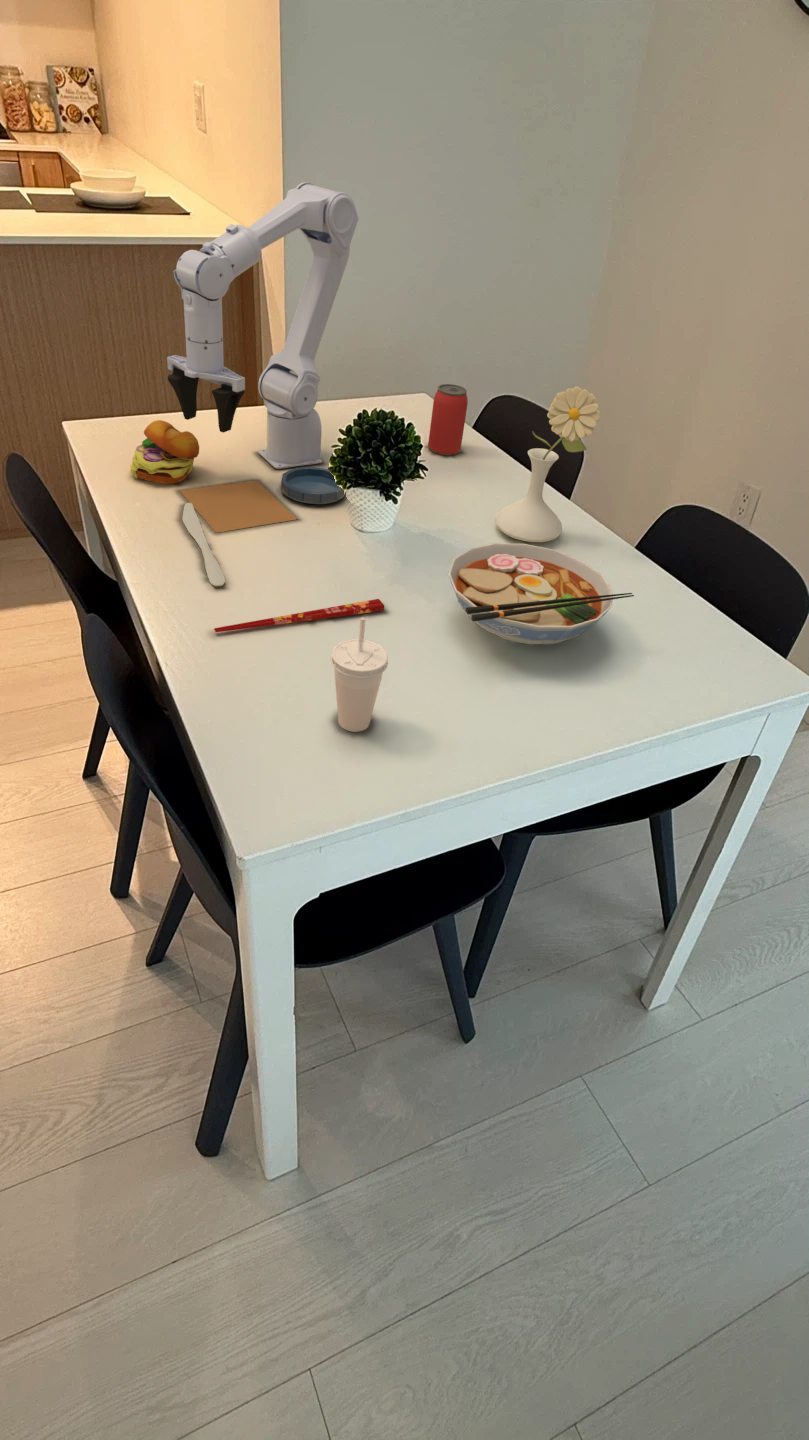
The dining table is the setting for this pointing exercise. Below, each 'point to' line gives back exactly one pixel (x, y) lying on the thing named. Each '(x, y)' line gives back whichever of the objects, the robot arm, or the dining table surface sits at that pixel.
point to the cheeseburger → (165, 454)
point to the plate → (311, 485)
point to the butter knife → (202, 545)
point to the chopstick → (312, 615)
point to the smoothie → (357, 679)
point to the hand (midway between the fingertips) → (207, 424)
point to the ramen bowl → (529, 592)
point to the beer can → (448, 419)
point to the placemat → (237, 506)
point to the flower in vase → (531, 514)
